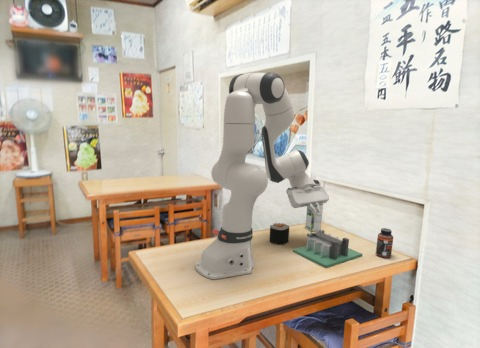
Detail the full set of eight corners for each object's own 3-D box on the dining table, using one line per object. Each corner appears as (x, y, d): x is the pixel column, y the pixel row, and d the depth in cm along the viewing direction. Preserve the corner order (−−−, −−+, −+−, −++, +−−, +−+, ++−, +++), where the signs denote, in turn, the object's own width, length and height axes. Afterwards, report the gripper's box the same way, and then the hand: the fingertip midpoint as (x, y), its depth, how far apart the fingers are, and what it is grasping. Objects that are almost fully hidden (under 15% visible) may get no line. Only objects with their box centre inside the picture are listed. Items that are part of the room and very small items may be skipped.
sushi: (291, 241, 155) (292, 224, 154) (281, 246, 149) (282, 228, 147) (276, 236, 160) (277, 220, 159) (266, 241, 154) (266, 224, 153)
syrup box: (304, 228, 174) (306, 200, 171) (314, 227, 176) (316, 199, 174) (311, 231, 168) (313, 203, 166) (321, 230, 171) (323, 202, 168)
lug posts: (334, 259, 134) (335, 242, 133) (330, 257, 136) (331, 241, 134) (347, 255, 139) (349, 239, 137) (343, 253, 140) (345, 237, 139)
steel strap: (336, 245, 135) (336, 243, 135) (312, 235, 146) (312, 233, 146) (343, 244, 137) (343, 241, 137) (319, 233, 148) (319, 231, 148)
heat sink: (325, 259, 134) (326, 244, 133) (302, 248, 144) (303, 234, 143) (348, 252, 142) (349, 237, 141) (324, 242, 152) (326, 228, 151)
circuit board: (325, 268, 129) (325, 265, 129) (292, 251, 143) (293, 249, 143) (362, 256, 141) (362, 253, 141) (328, 242, 156) (328, 239, 155)
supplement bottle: (388, 259, 138) (391, 233, 136) (373, 255, 142) (376, 229, 140) (393, 255, 143) (396, 229, 141) (378, 251, 147) (381, 226, 145)
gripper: (288, 184, 143) (303, 212, 137) (322, 180, 155) (337, 206, 149) (281, 192, 148) (295, 220, 142) (314, 188, 159) (328, 213, 153)
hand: (317, 213), depth 145 cm, fingers closed
